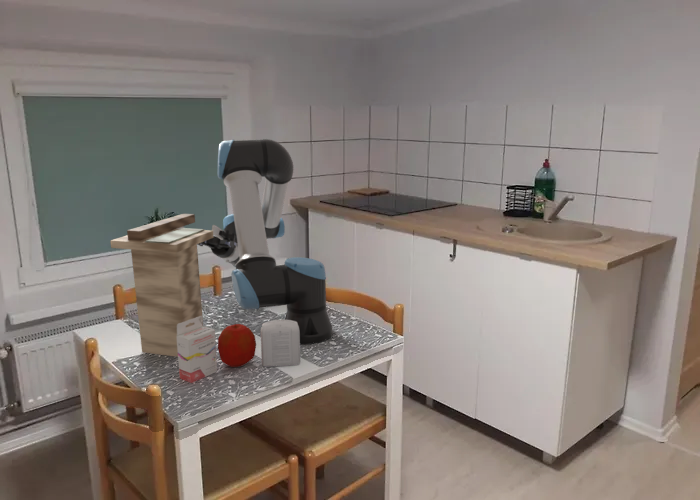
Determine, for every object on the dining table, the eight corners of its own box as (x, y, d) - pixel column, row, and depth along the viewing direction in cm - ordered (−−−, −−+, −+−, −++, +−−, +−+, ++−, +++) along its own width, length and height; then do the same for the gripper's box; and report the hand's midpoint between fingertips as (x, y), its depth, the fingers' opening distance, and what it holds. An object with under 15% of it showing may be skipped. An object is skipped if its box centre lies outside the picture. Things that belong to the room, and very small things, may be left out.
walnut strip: (183, 221, 173) (183, 213, 172) (195, 222, 171) (194, 214, 171) (128, 239, 148) (127, 230, 148) (140, 240, 147) (139, 231, 147)
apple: (244, 374, 144) (241, 332, 141) (210, 369, 147) (207, 327, 145) (263, 359, 153) (261, 319, 150) (232, 353, 157) (229, 314, 154)
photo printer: (300, 359, 153) (298, 316, 150) (301, 366, 149) (299, 322, 146) (261, 361, 151) (259, 318, 148) (261, 368, 147) (259, 324, 144)
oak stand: (162, 332, 172) (152, 226, 164) (220, 339, 167) (212, 229, 159) (123, 356, 156) (110, 239, 148) (186, 365, 150) (176, 243, 142)
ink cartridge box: (192, 384, 139) (187, 328, 136) (179, 379, 142) (174, 324, 139) (218, 371, 146) (214, 318, 143) (205, 366, 149) (201, 314, 145)
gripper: (256, 260, 190) (226, 241, 171) (191, 256, 197) (156, 237, 178) (260, 239, 192) (231, 218, 173) (196, 236, 199) (162, 215, 180)
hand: (193, 227), depth 175 cm, fingers open, 13 cm apart
